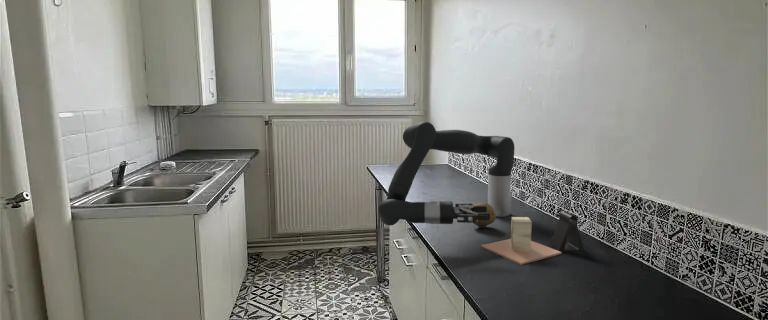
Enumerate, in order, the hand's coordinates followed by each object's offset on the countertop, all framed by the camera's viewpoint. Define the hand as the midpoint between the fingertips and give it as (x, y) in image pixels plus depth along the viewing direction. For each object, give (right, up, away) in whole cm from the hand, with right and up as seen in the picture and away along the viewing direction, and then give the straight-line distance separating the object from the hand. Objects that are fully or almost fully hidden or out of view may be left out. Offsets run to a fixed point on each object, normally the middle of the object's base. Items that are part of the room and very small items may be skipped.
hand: (488, 212), depth 148 cm
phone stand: (+27, -12, +3) cm, 30 cm away
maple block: (+11, -12, +1) cm, 16 cm away
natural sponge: (+4, -9, +25) cm, 27 cm away
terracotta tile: (+11, -13, +1) cm, 17 cm away
